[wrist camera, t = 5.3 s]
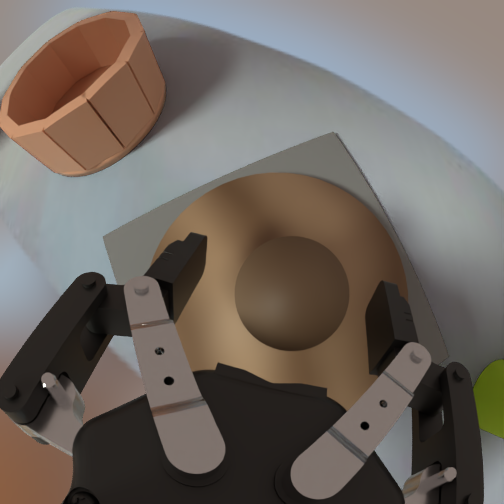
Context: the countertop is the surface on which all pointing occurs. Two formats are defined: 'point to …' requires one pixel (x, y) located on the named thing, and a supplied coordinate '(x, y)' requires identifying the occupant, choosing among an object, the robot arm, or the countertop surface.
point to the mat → (288, 161)
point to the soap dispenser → (491, 398)
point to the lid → (285, 281)
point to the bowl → (86, 95)
